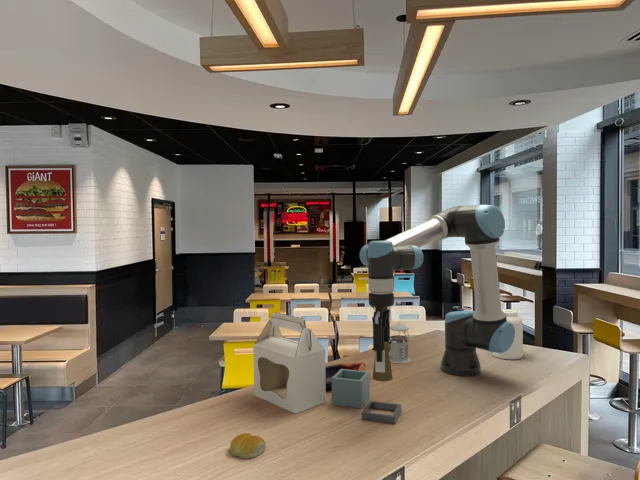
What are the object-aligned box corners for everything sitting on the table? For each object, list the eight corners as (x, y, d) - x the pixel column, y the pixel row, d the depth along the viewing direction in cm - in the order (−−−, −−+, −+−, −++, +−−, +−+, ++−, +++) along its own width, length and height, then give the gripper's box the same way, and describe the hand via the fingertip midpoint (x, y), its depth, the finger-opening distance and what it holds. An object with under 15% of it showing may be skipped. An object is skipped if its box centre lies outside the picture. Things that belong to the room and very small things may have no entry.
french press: (383, 360, 193) (382, 301, 192) (397, 354, 202) (397, 298, 201) (403, 364, 187) (403, 304, 186) (417, 358, 196) (416, 300, 195)
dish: (287, 385, 165) (286, 371, 164) (353, 369, 182) (353, 357, 182) (310, 398, 152) (310, 383, 152) (379, 380, 169) (379, 366, 169)
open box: (369, 396, 152) (369, 371, 152) (362, 408, 143) (361, 381, 142) (341, 393, 155) (341, 368, 155) (331, 404, 146) (331, 378, 146)
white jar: (519, 352, 202) (519, 308, 201) (525, 361, 190) (525, 313, 189) (489, 351, 205) (489, 307, 204) (493, 359, 193) (493, 312, 192)
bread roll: (244, 440, 122) (244, 426, 122) (270, 449, 117) (270, 433, 117) (222, 453, 115) (222, 438, 115) (249, 463, 111) (248, 446, 110)
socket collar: (401, 410, 140) (401, 404, 140) (395, 424, 131) (395, 417, 131) (369, 406, 144) (369, 400, 144) (361, 419, 134) (361, 412, 134)
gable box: (253, 395, 155) (252, 313, 154) (283, 385, 164) (282, 308, 163) (296, 414, 139) (294, 323, 138) (326, 402, 148) (325, 317, 147)
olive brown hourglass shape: (392, 381, 134) (391, 344, 133) (371, 380, 135) (371, 344, 134) (393, 375, 139) (392, 339, 139) (373, 374, 141) (372, 338, 140)
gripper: (375, 287, 146) (377, 359, 147) (361, 296, 129) (362, 377, 130) (399, 288, 143) (400, 361, 144) (387, 297, 126) (388, 379, 127)
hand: (382, 368), depth 137 cm, fingers closed on olive brown hourglass shape, 5 cm apart
